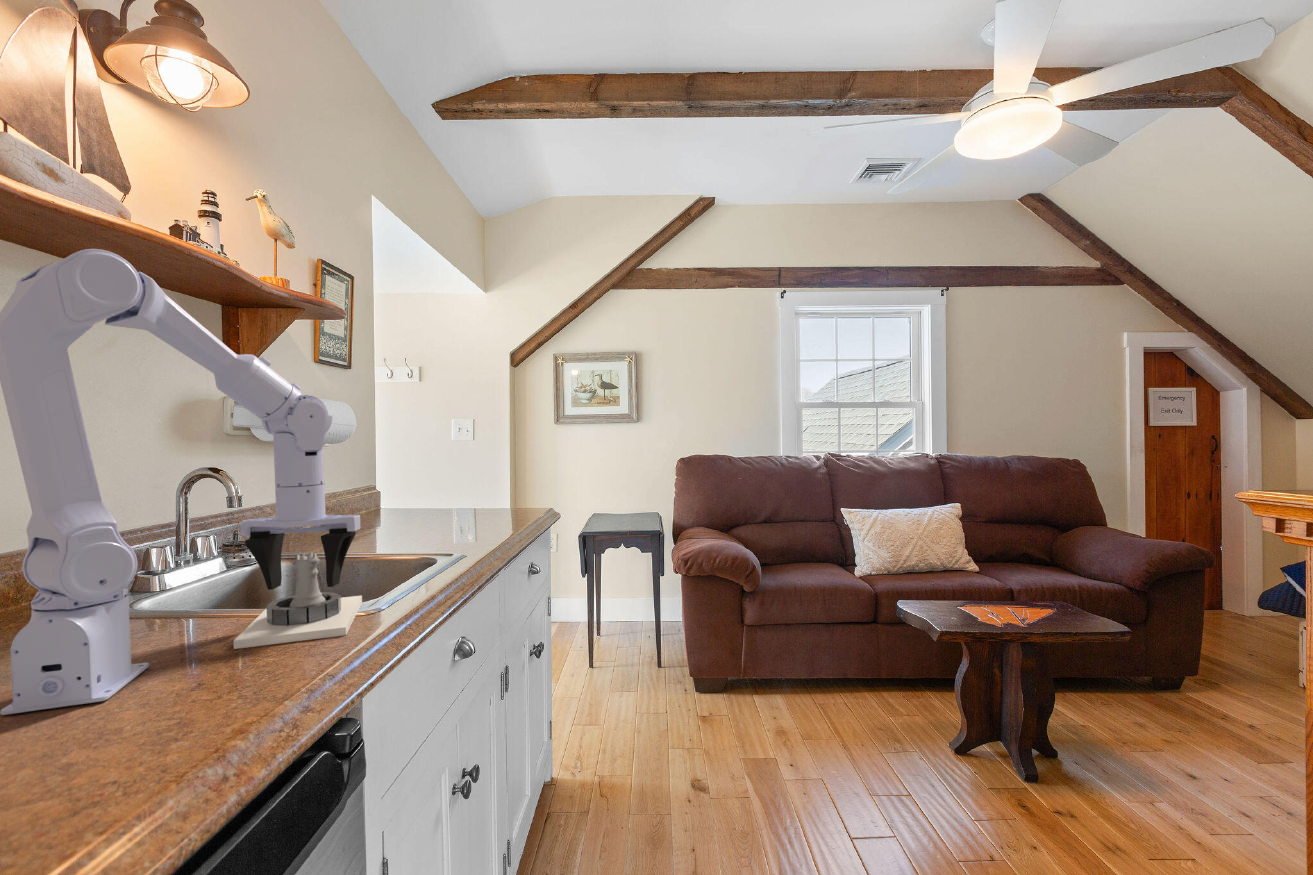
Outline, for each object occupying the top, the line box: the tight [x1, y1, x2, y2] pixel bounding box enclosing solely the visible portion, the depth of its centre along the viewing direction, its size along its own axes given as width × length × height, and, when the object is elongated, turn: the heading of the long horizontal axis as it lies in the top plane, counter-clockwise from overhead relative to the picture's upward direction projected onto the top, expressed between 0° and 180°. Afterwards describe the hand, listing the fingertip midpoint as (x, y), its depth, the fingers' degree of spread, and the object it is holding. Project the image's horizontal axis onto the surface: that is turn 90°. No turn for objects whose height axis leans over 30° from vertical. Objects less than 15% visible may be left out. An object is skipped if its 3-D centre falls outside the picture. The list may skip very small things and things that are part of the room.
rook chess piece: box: [290, 552, 326, 608], centre depth 83 cm, size 4×4×8 cm
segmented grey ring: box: [265, 591, 342, 626], centre depth 82 cm, size 8×8×2 cm
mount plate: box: [233, 595, 363, 650], centre depth 82 cm, size 16×12×1 cm
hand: (304, 586), depth 82 cm, fingers open, 7 cm apart
